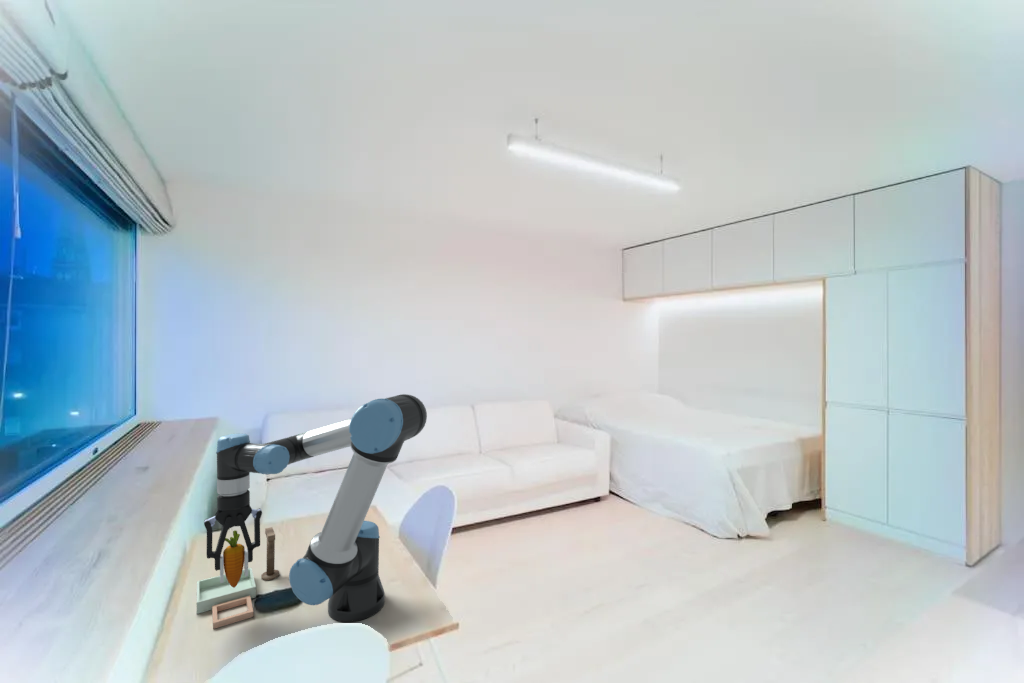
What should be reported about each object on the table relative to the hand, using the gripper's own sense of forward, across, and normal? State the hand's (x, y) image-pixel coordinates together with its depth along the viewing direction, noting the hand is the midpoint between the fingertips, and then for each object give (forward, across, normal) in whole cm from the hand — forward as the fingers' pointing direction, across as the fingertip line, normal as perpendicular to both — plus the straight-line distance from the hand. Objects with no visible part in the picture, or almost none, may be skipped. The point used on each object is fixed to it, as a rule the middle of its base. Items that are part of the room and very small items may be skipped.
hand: (234, 577), depth 121 cm
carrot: (+3, 0, 0) cm, 3 cm away
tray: (+10, +1, -12) cm, 16 cm away
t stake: (+10, -11, -18) cm, 23 cm away
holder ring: (+10, 0, 0) cm, 10 cm away
